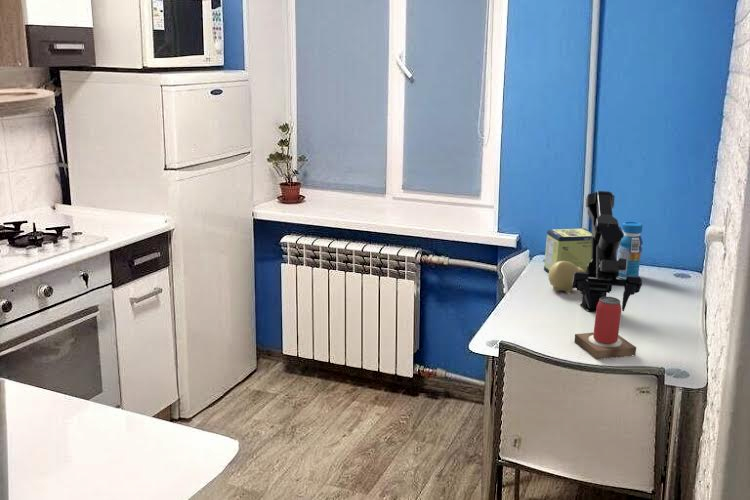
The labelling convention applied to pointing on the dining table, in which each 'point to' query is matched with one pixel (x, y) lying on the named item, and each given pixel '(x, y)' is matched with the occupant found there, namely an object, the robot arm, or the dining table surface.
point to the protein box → (568, 247)
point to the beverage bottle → (630, 248)
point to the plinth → (604, 347)
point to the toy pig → (563, 275)
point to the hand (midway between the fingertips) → (606, 309)
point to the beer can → (607, 320)
